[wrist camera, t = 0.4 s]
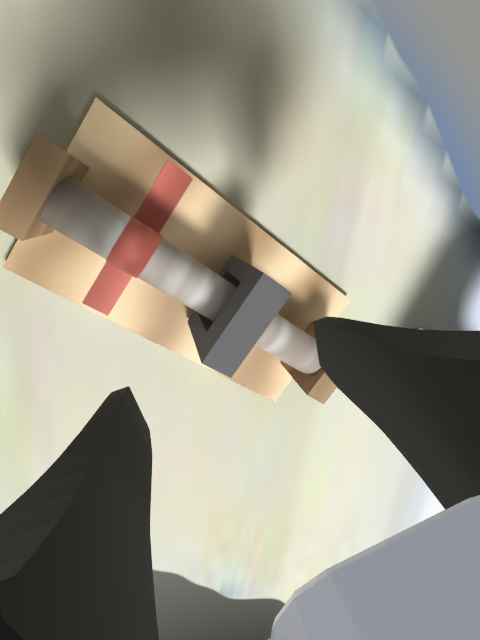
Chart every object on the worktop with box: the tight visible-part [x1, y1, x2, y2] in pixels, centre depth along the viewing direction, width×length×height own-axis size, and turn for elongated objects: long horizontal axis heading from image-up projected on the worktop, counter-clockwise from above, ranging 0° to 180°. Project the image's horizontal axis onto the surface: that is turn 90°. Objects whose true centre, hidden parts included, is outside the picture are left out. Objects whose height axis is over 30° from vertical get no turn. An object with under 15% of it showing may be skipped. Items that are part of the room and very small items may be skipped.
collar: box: [187, 255, 292, 378], centre depth 17 cm, size 2×5×6 cm, turn 144°
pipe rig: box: [0, 98, 351, 404], centre depth 18 cm, size 20×10×5 cm, turn 54°
